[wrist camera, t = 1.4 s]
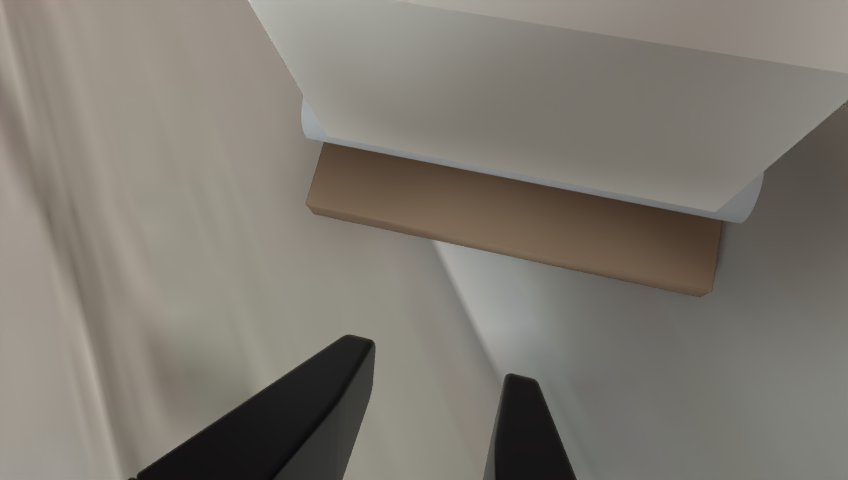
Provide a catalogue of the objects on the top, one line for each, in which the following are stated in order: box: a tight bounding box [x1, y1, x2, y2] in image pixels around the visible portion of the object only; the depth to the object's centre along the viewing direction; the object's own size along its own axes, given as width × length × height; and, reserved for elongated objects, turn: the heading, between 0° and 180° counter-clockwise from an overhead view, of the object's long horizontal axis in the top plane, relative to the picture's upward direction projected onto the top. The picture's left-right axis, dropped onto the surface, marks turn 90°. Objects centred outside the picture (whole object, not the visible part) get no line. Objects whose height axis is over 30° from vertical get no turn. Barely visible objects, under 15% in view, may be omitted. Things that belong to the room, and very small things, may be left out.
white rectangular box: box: [248, 0, 848, 224], centre depth 18 cm, size 7×14×10 cm, turn 76°
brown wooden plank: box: [306, 142, 722, 297], centre depth 24 cm, size 18×14×1 cm
